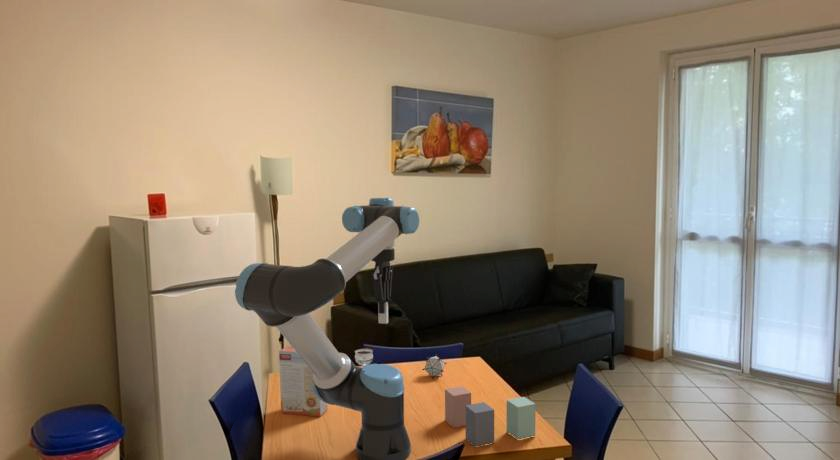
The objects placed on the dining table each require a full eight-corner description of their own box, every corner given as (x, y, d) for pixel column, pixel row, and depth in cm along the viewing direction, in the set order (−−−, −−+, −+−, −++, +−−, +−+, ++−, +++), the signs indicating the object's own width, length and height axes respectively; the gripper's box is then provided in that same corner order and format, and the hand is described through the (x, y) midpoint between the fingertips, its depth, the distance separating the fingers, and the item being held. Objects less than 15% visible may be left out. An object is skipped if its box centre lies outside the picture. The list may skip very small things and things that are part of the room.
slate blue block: (494, 443, 163) (494, 409, 162) (475, 447, 160) (475, 413, 159) (483, 435, 168) (483, 402, 167) (465, 438, 166) (465, 405, 165)
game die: (430, 387, 217) (414, 368, 215) (436, 372, 225) (420, 353, 223) (449, 379, 213) (433, 359, 211) (454, 364, 220) (438, 345, 218)
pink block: (471, 424, 175) (471, 392, 175) (453, 427, 173) (453, 395, 172) (462, 417, 181) (462, 386, 180) (445, 420, 179) (444, 389, 178)
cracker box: (328, 410, 187) (326, 347, 185) (320, 417, 182) (318, 353, 180) (289, 406, 191) (287, 344, 189) (280, 413, 185) (278, 350, 183)
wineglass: (353, 381, 214) (352, 349, 213) (370, 378, 216) (370, 347, 215) (357, 387, 207) (357, 355, 206) (375, 384, 210) (375, 352, 209)
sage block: (535, 437, 166) (535, 403, 166) (517, 441, 164) (517, 407, 163) (523, 428, 172) (523, 396, 171) (506, 432, 170) (506, 399, 169)
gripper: (378, 245, 184) (379, 317, 186) (362, 249, 172) (364, 327, 174) (400, 245, 182) (401, 318, 184) (386, 250, 170) (387, 328, 172)
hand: (383, 322), depth 179 cm, fingers closed
